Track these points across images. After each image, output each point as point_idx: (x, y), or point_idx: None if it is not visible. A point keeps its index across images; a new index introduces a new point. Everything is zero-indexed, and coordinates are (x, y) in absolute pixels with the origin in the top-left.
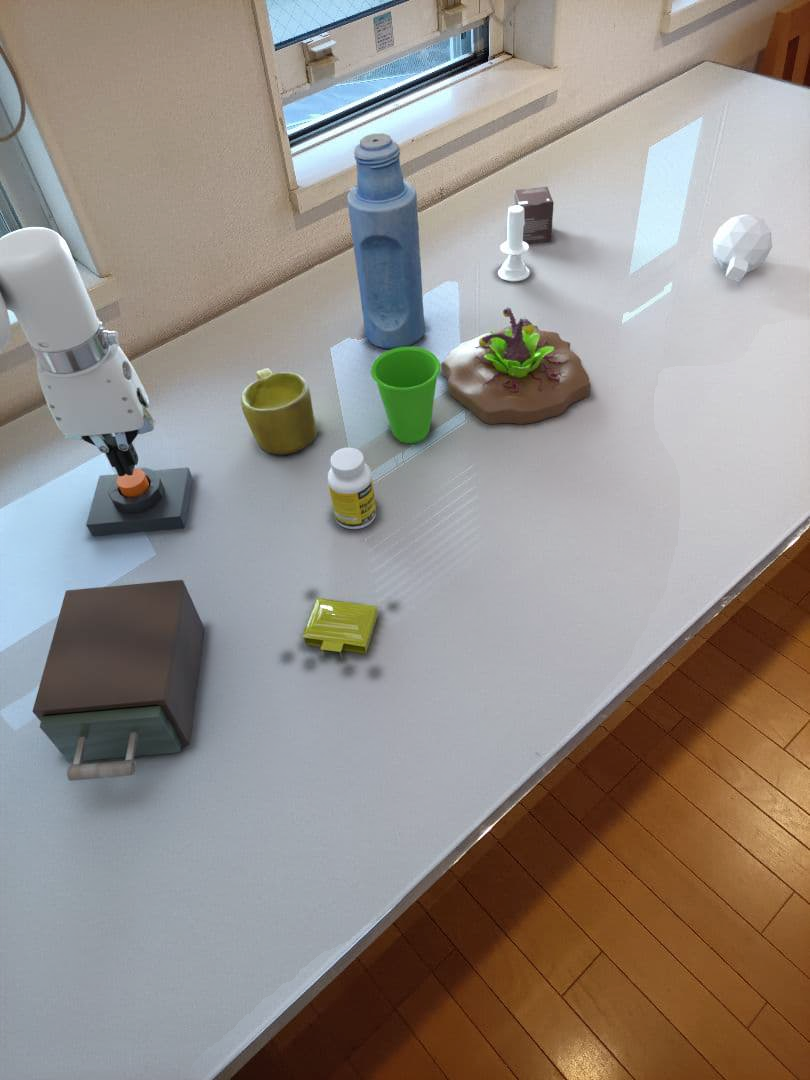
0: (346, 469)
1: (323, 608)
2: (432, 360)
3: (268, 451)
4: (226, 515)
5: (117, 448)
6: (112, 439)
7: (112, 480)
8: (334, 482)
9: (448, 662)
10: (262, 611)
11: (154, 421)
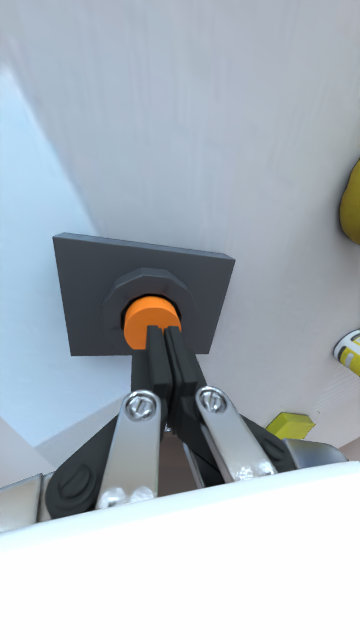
0: None
1: (289, 431)
2: None
3: (346, 232)
4: (248, 328)
5: (170, 418)
6: (163, 425)
7: (90, 261)
8: None
9: (319, 433)
10: (246, 415)
11: (345, 459)
